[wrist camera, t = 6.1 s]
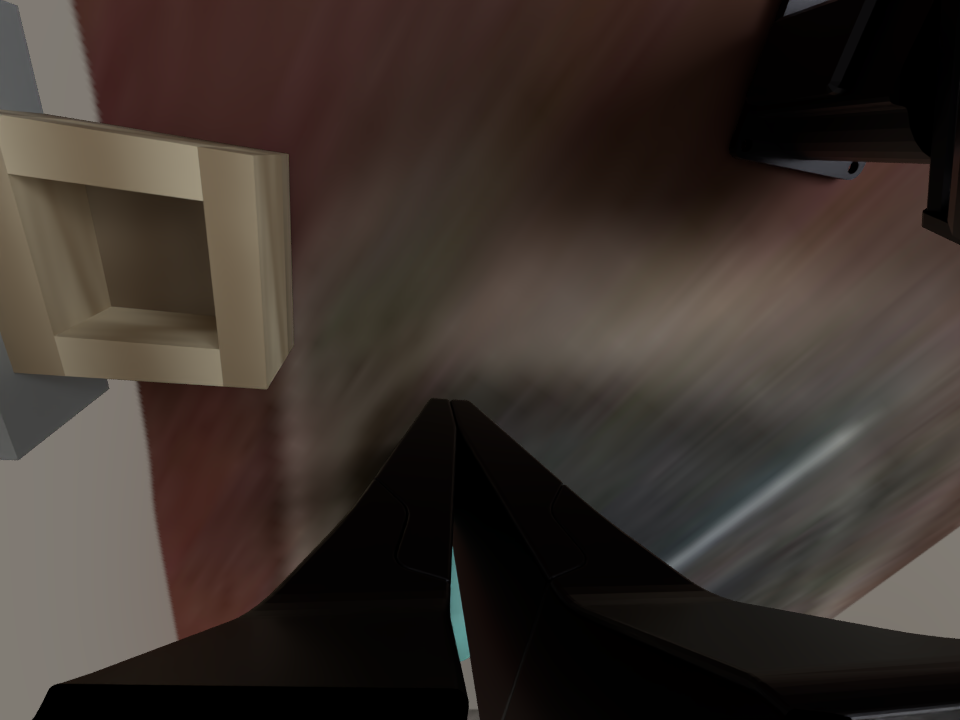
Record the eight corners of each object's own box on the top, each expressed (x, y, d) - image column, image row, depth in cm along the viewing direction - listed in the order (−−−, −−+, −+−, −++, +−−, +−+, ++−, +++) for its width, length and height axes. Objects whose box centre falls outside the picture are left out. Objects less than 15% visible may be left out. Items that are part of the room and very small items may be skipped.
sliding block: (288, 153, 16) (253, 155, 13) (293, 345, 20) (267, 389, 16) (41, 113, 15) (-79, 102, 11) (92, 328, 18) (13, 372, 14)
